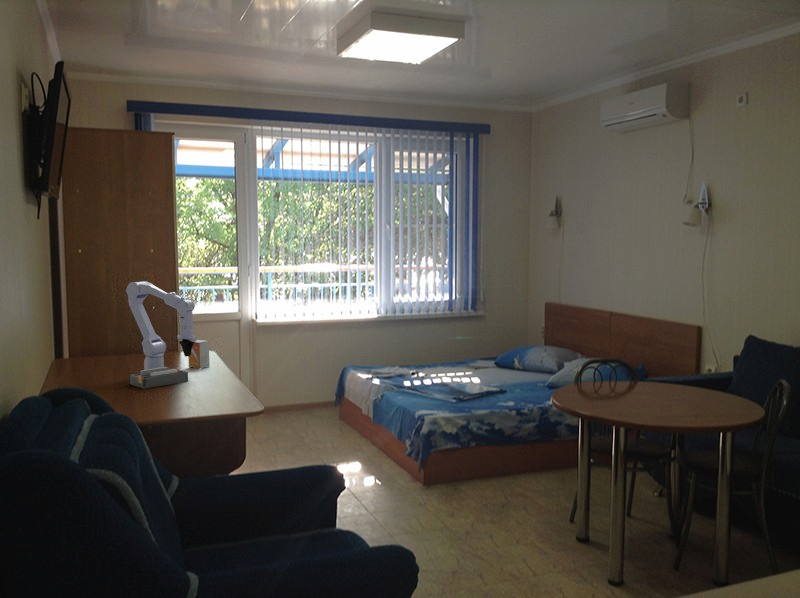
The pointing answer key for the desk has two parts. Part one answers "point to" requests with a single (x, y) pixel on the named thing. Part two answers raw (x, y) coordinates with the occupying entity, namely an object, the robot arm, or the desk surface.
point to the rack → (157, 378)
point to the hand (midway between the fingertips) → (187, 356)
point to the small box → (199, 354)
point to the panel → (163, 373)
